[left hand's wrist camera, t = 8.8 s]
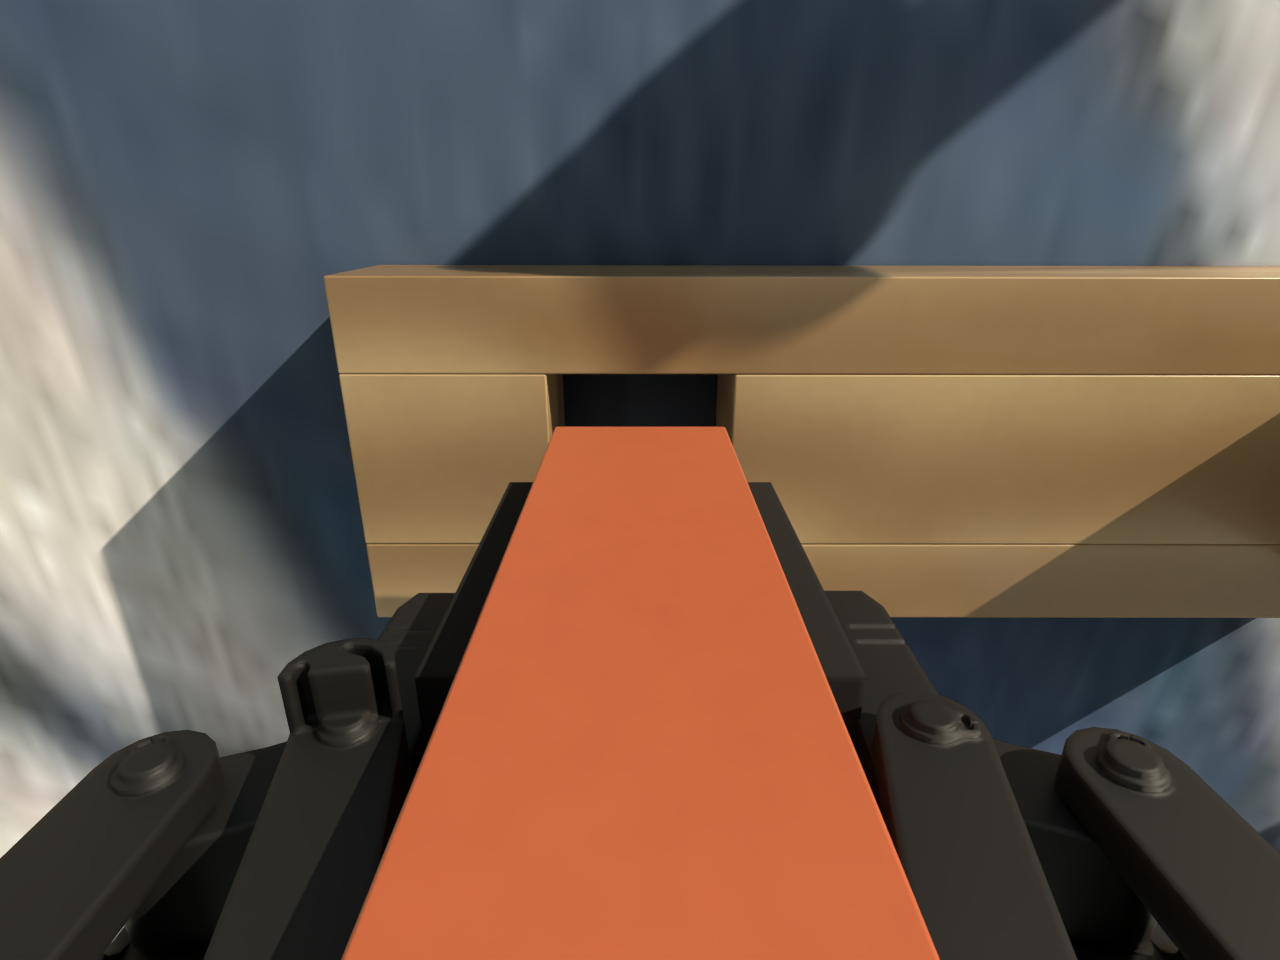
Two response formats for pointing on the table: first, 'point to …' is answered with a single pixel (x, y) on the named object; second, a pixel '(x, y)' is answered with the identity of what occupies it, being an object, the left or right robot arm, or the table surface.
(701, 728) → the peg
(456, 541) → the board
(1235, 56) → the table surface
